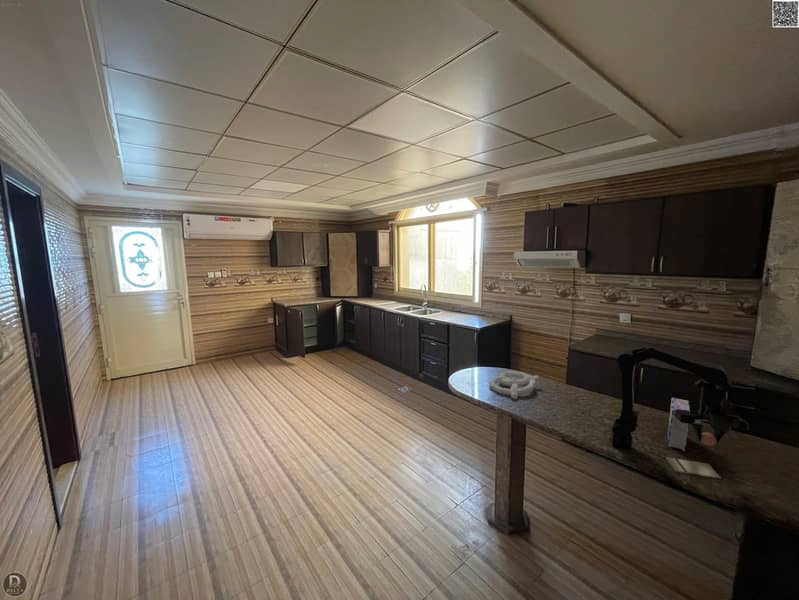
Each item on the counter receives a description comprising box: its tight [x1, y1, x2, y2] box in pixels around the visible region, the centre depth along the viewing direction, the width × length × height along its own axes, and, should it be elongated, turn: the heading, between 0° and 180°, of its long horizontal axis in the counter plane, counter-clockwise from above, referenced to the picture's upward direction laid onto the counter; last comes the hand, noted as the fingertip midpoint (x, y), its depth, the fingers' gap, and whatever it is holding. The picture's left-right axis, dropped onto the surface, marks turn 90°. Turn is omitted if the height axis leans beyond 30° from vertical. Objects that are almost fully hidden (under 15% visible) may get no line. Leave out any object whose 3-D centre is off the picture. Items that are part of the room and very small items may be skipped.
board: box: [665, 456, 722, 480], centre depth 120 cm, size 13×8×1 cm, turn 71°
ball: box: [700, 432, 717, 447], centre depth 117 cm, size 4×4×4 cm
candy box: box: [667, 397, 691, 452], centre depth 136 cm, size 14×6×16 cm, turn 141°
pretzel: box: [488, 370, 541, 400], centre depth 190 cm, size 28×24×6 cm
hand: (707, 441), depth 117 cm, fingers closed on ball, 4 cm apart
